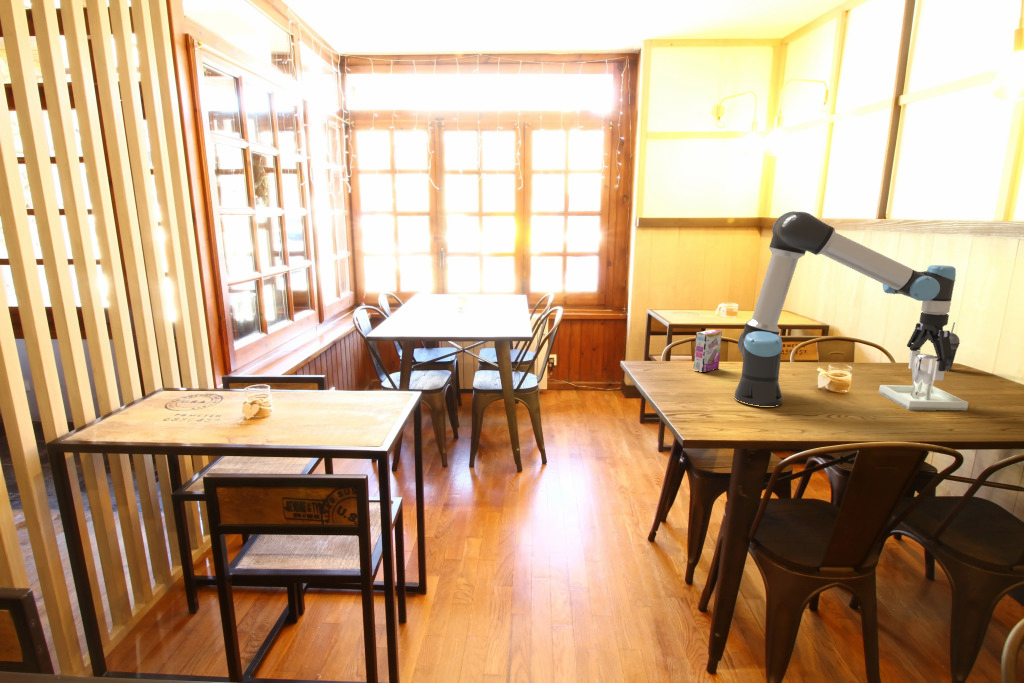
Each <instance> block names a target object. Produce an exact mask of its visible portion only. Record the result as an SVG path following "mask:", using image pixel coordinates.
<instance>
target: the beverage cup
mask: <svg viewBox="0 0 1024 683" xmlns="http://www.w3.org/2000/svg"><path fill="white" fill-rule="evenodd" d="M955 324H956V322H953V323H952V327H951V330H950V344H951V351H952V357H953V360H952V361H947V363H946V369H945V370H951V371H952V368H953V365H954V361H955V358H956V355H957V351H958V348H959V346H960V344H961V343H960V342H961V341H960V337H959V336H958V335H957V334H956V333H954V328H955ZM938 340H939V339H938Z"/></svg>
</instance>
